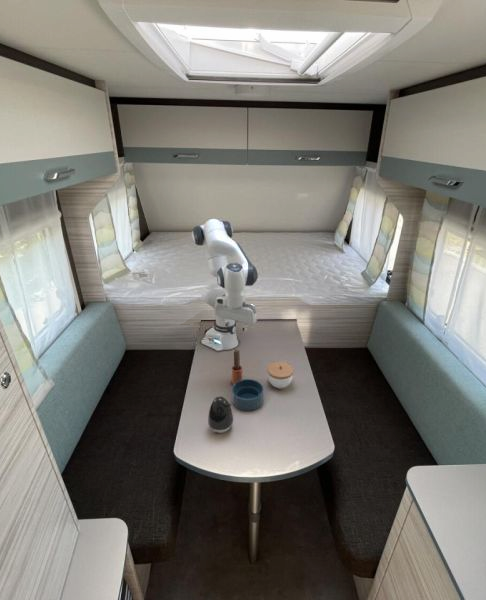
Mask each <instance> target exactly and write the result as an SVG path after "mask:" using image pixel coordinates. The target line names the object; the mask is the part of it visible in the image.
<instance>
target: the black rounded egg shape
mask: <svg viewBox="0 0 486 600" xmlns="http://www.w3.org/2000/svg"><path fill="white" fill-rule="evenodd" d="M231 406H232V404H231V403H229V401H228V400H227V399H226V398H225V397H224V396H221V395H220V396H216V397H215V398H214V399H213V400H212V402H211V404H210V406H209V409H208V415H207V423H208V426H209V428H210V429H211V430H212V431H213V432H215V433H219V434H221V433H226V432H227V431H228V430H230V428H231V427H232V424H233V423H234V415H233V411H232V408H231Z"/></svg>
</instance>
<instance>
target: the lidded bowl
mask: <svg viewBox="0 0 486 600" xmlns="http://www.w3.org/2000/svg"><path fill="white" fill-rule="evenodd" d="M293 377H294V367H293V366H292V364H290V363H289V362H285V361H274V362H271V363H270V364H269V365H268V366H267V379H268V382H269V383H270V385H272V387H274V388H276V389H278V390H283V389H286V388H287V387H289V385H290V384H291V383H292V381H293Z"/></svg>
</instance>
